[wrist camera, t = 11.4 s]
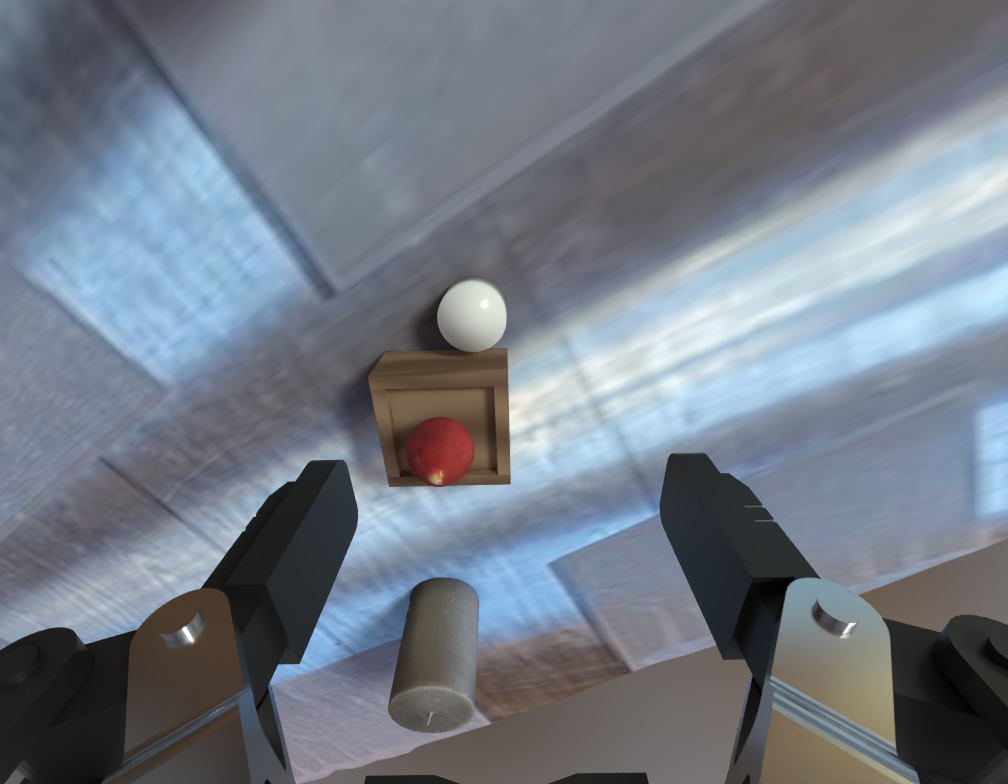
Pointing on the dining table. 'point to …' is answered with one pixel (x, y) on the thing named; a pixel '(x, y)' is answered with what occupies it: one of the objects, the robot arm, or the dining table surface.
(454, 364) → the brown open square tray
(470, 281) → the white rounded pebble
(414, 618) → the pillar candle
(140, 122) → the dining table surface
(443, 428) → the onion
